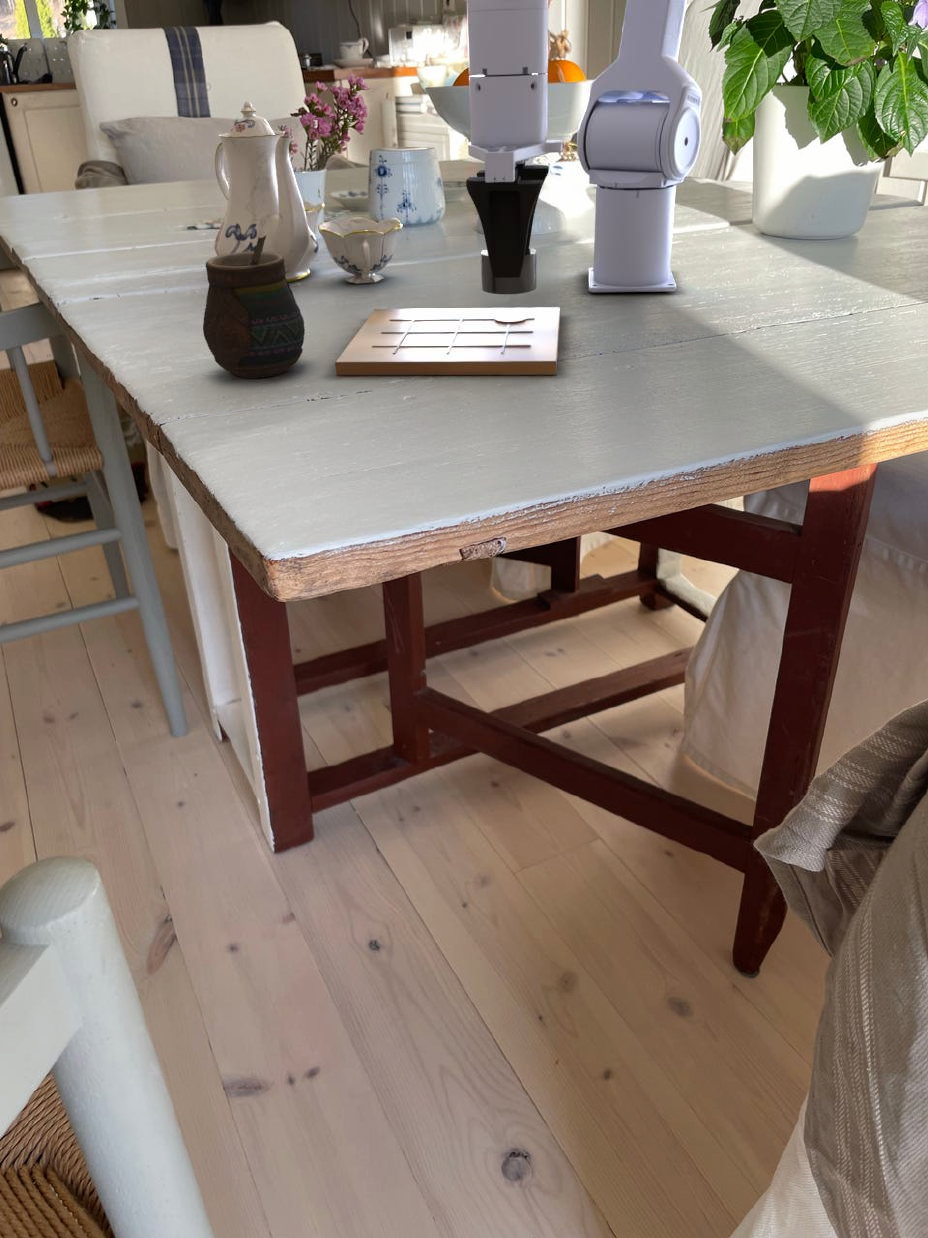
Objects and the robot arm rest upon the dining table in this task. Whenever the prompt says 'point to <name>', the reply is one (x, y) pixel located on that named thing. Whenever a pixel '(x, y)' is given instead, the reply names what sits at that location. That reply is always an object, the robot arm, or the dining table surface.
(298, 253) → the chinaware
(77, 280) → the dining table surface
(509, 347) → the board
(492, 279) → the short grey cylinder
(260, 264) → the mate gourd
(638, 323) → the dining table surface
